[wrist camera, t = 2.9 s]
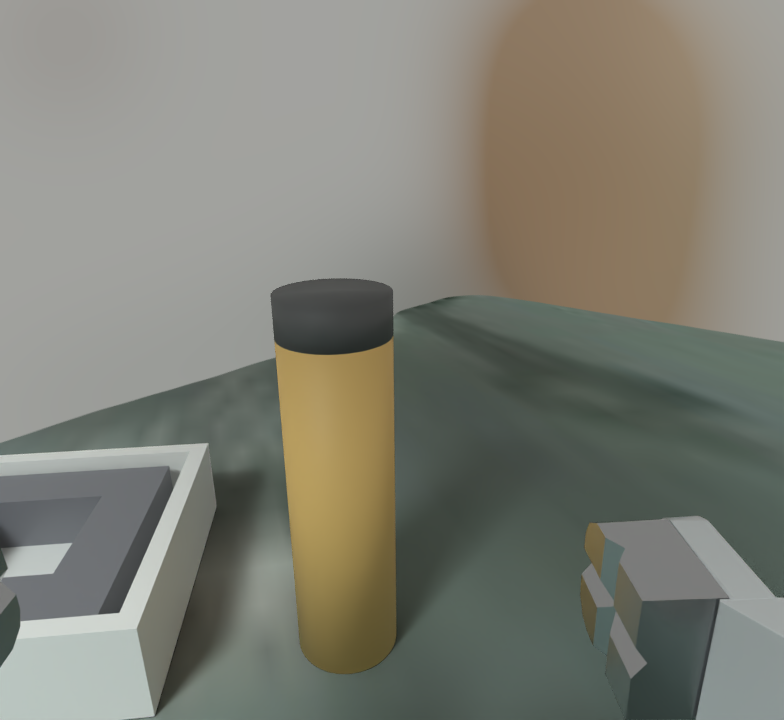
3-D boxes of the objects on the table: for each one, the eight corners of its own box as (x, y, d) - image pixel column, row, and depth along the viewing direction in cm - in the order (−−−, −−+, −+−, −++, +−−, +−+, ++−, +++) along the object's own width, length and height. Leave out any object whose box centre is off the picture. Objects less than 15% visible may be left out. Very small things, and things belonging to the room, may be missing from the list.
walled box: (-280, 760, 20) (-333, 669, 18) (-50, 524, 32) (-71, 459, 30) (154, 716, 21) (136, 628, 20) (216, 506, 33) (208, 443, 32)
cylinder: (297, 679, 22) (265, 309, 17) (301, 602, 26) (275, 280, 21) (402, 668, 23) (399, 304, 18) (390, 594, 27) (386, 276, 22)
